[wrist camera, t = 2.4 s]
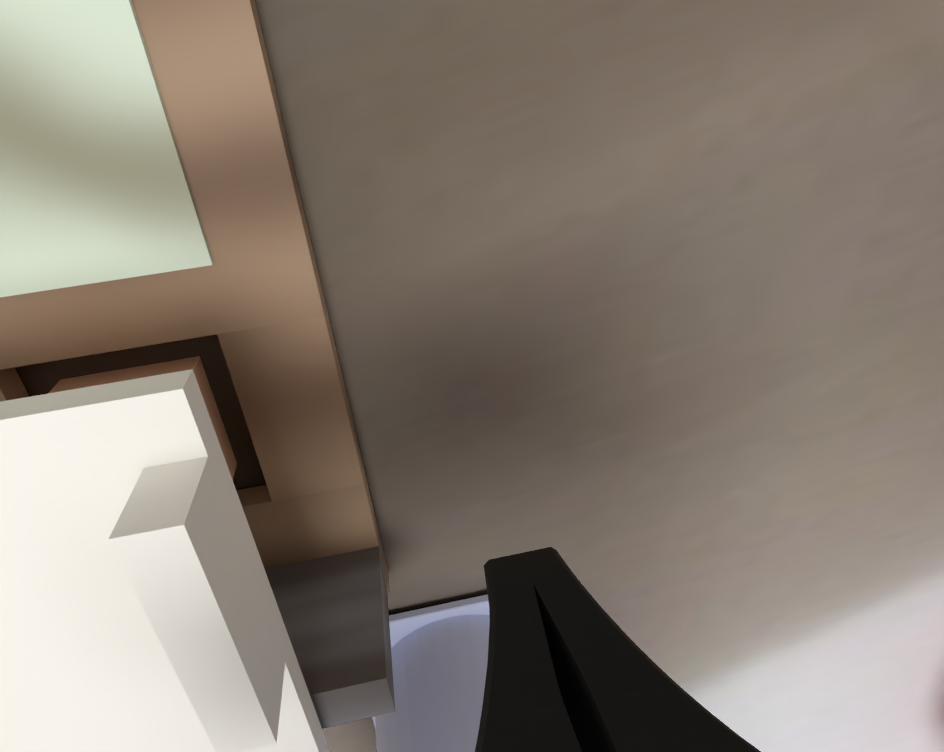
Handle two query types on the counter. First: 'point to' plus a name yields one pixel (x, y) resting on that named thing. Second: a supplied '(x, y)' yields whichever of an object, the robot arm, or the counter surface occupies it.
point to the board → (193, 280)
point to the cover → (136, 583)
